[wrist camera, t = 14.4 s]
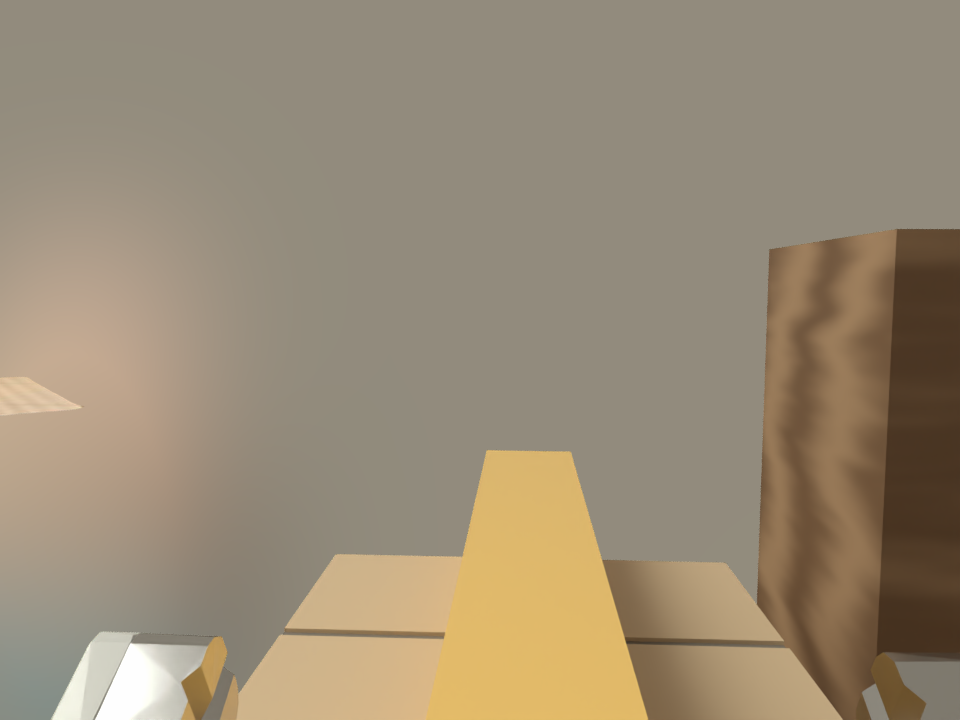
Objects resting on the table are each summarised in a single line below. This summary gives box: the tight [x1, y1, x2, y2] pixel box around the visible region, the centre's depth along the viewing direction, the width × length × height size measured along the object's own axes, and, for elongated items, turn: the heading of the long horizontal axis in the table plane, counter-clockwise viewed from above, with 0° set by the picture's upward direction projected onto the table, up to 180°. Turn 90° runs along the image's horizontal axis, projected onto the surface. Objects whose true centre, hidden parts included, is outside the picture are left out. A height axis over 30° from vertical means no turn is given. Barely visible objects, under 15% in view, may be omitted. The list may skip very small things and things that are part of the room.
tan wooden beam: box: [426, 450, 648, 720], centre depth 18 cm, size 26×3×2 cm, turn 177°
